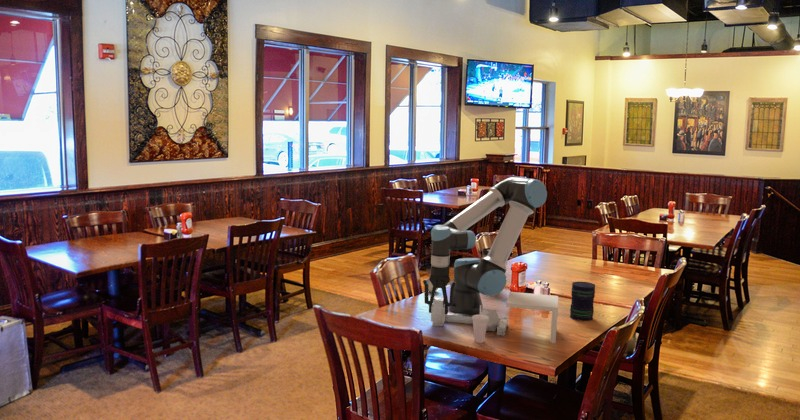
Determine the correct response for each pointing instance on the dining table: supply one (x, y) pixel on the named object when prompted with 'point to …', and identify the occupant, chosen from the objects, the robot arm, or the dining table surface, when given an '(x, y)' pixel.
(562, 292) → the dining table surface
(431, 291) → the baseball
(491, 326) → the die
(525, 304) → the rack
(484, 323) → the smoothie
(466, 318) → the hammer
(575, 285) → the storage jar
